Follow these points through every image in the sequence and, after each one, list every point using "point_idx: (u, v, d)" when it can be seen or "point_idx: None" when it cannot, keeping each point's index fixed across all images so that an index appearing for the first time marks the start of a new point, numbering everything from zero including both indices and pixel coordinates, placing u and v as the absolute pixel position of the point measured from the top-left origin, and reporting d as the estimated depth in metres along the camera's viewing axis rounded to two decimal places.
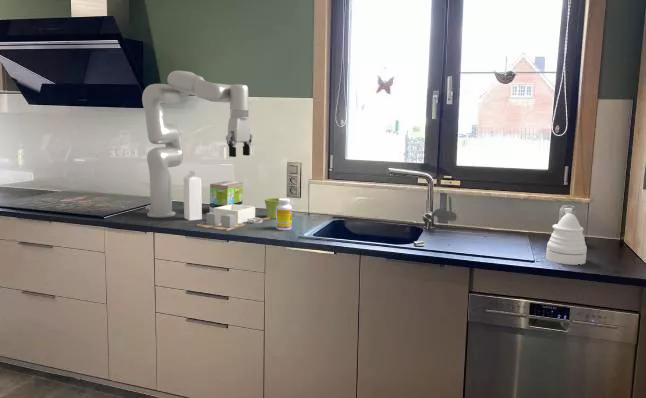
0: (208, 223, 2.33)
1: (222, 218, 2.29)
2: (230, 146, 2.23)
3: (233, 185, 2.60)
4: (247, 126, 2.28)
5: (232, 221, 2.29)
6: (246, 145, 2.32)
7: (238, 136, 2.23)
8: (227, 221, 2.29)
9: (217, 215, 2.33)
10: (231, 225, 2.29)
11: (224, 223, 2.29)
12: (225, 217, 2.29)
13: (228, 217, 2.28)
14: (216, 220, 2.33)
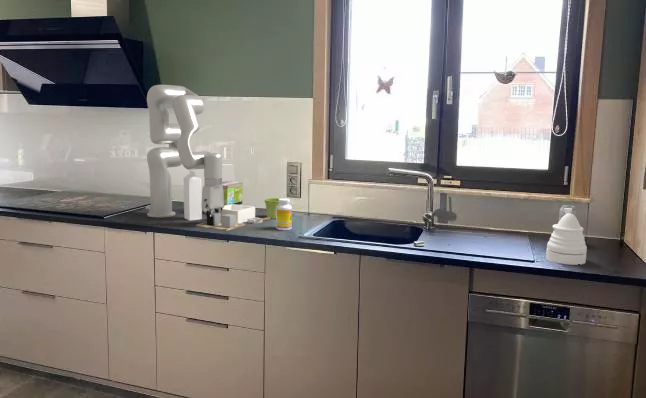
0: None
1: (222, 218, 2.29)
2: (208, 216, 2.31)
3: (233, 185, 2.60)
4: (221, 193, 2.34)
5: (232, 221, 2.29)
6: None
7: (211, 204, 2.29)
8: (227, 221, 2.29)
9: (217, 215, 2.33)
10: (231, 225, 2.29)
11: (224, 223, 2.29)
12: (225, 217, 2.29)
13: (228, 217, 2.28)
14: (216, 220, 2.33)
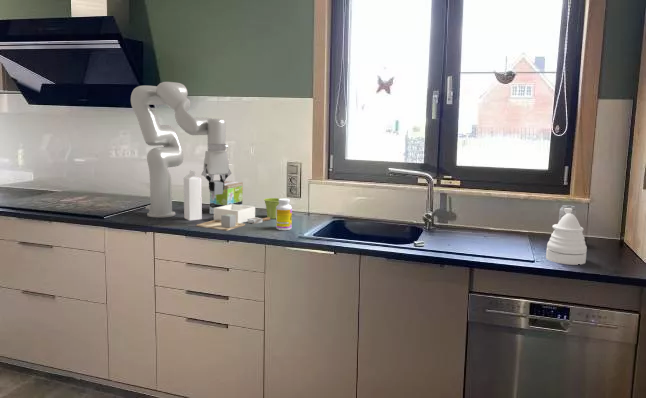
0: (210, 191, 2.35)
1: (222, 218, 2.29)
2: (209, 181, 2.32)
3: (233, 185, 2.60)
4: (224, 159, 2.33)
5: (232, 221, 2.29)
6: (221, 180, 2.35)
7: (211, 169, 2.30)
8: (227, 221, 2.29)
9: (219, 184, 2.33)
10: (231, 225, 2.29)
11: (224, 223, 2.29)
12: (225, 217, 2.29)
13: (228, 217, 2.28)
14: (217, 190, 2.33)
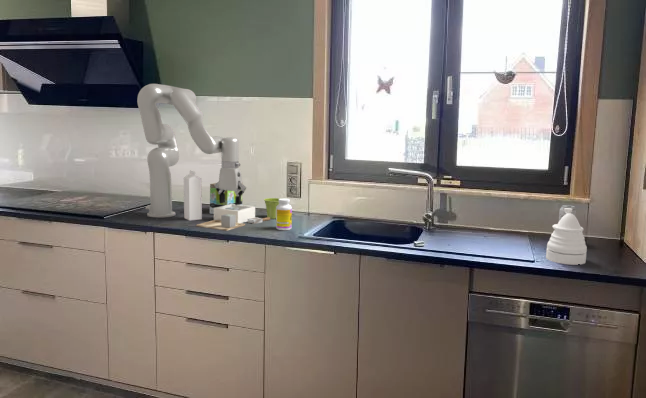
0: None
1: (222, 218, 2.29)
2: None
3: None
4: (231, 176, 2.41)
5: (232, 221, 2.29)
6: None
7: (220, 184, 2.45)
8: (227, 221, 2.29)
9: None
10: (231, 225, 2.29)
11: (224, 223, 2.29)
12: (225, 217, 2.29)
13: (228, 217, 2.28)
14: None
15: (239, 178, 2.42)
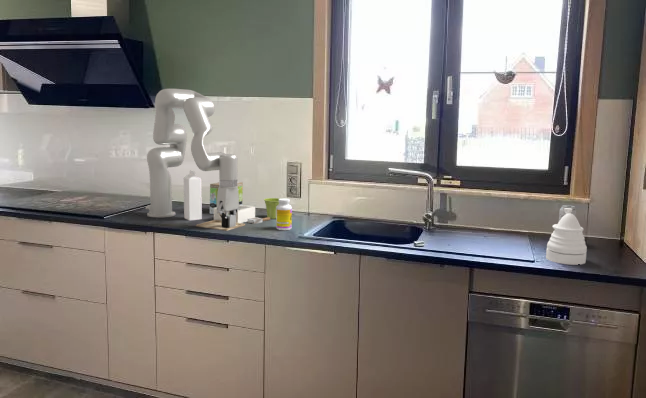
0: None
1: None
2: (223, 218, 2.27)
3: None
4: (236, 194, 2.30)
5: (232, 221, 2.29)
6: None
7: (227, 206, 2.25)
8: None
9: None
10: (231, 225, 2.29)
11: None
12: None
13: (228, 217, 2.28)
14: None
15: None
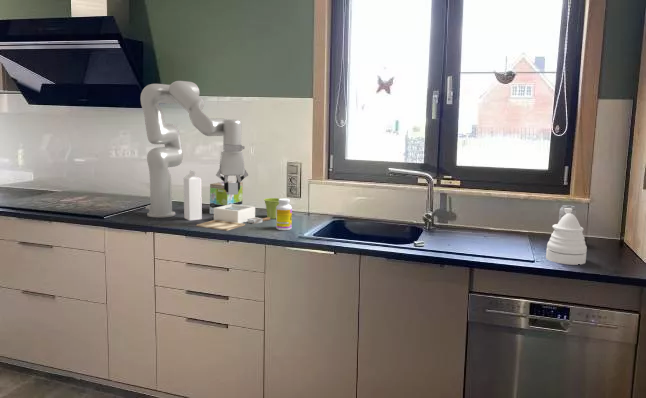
0: None
1: None
2: (224, 182, 2.32)
3: None
4: (239, 160, 2.30)
5: (232, 188, 2.31)
6: (237, 181, 2.34)
7: (224, 170, 2.29)
8: None
9: None
10: (231, 192, 2.31)
11: None
12: None
13: (228, 184, 2.31)
14: None
15: None
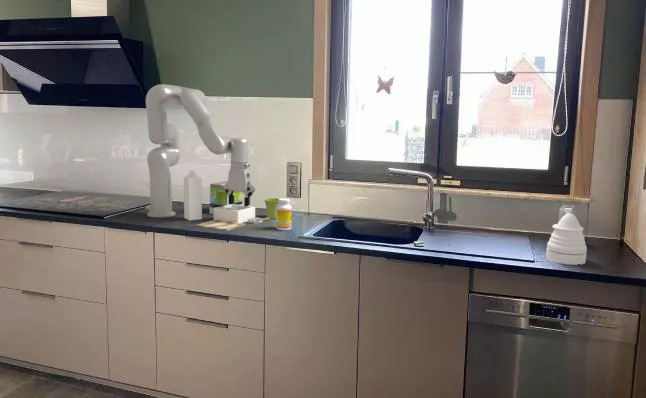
0: None
1: None
2: None
3: None
4: (240, 177, 2.39)
5: None
6: None
7: (229, 185, 2.42)
8: None
9: None
10: None
11: None
12: None
13: None
14: None
15: (248, 179, 2.40)
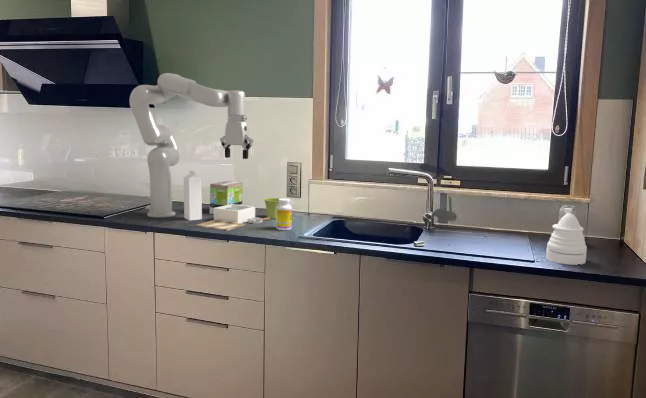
0: None
1: None
2: None
3: (233, 185, 2.60)
4: (237, 130, 2.36)
5: None
6: None
7: (226, 139, 2.40)
8: None
9: None
10: None
11: None
12: None
13: None
14: None
15: (246, 132, 2.38)
